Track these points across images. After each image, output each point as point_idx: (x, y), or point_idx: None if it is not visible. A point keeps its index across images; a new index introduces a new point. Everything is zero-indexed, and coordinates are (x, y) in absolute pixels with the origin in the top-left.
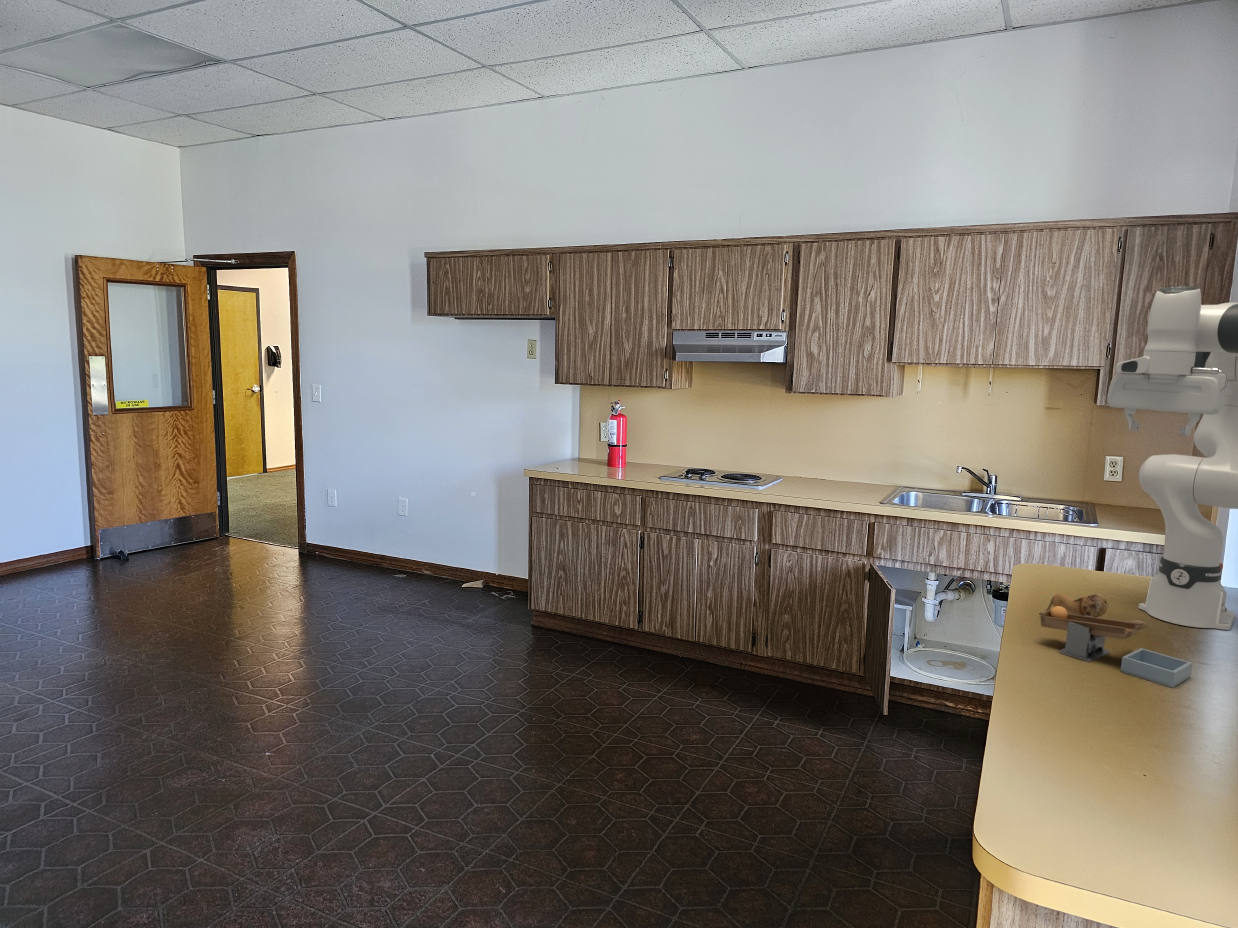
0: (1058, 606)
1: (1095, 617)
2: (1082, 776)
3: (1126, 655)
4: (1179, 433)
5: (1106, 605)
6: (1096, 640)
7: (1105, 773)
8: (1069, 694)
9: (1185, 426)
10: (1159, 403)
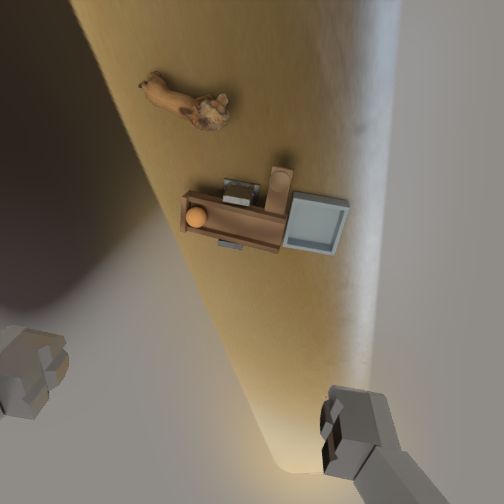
0: (192, 222)
1: (236, 208)
2: (298, 413)
3: (285, 238)
4: (320, 424)
5: (227, 117)
6: None
7: (307, 405)
8: (261, 320)
9: (356, 487)
10: None
